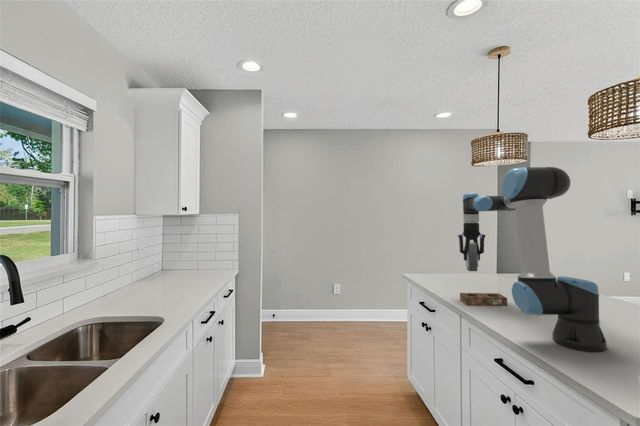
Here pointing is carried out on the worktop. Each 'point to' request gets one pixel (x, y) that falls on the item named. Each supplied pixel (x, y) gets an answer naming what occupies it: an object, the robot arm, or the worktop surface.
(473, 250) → the plug
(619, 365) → the worktop surface
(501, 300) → the socket block
